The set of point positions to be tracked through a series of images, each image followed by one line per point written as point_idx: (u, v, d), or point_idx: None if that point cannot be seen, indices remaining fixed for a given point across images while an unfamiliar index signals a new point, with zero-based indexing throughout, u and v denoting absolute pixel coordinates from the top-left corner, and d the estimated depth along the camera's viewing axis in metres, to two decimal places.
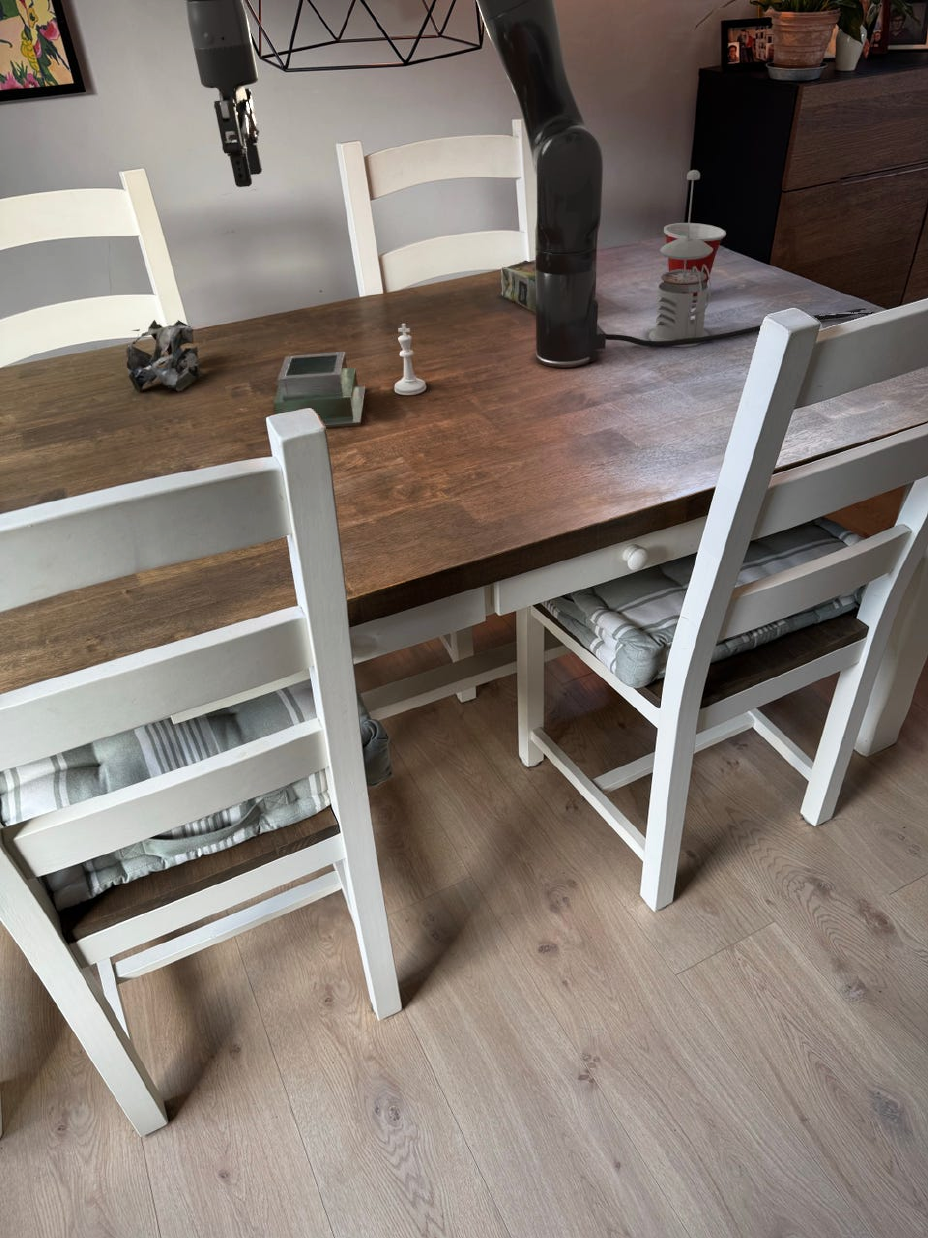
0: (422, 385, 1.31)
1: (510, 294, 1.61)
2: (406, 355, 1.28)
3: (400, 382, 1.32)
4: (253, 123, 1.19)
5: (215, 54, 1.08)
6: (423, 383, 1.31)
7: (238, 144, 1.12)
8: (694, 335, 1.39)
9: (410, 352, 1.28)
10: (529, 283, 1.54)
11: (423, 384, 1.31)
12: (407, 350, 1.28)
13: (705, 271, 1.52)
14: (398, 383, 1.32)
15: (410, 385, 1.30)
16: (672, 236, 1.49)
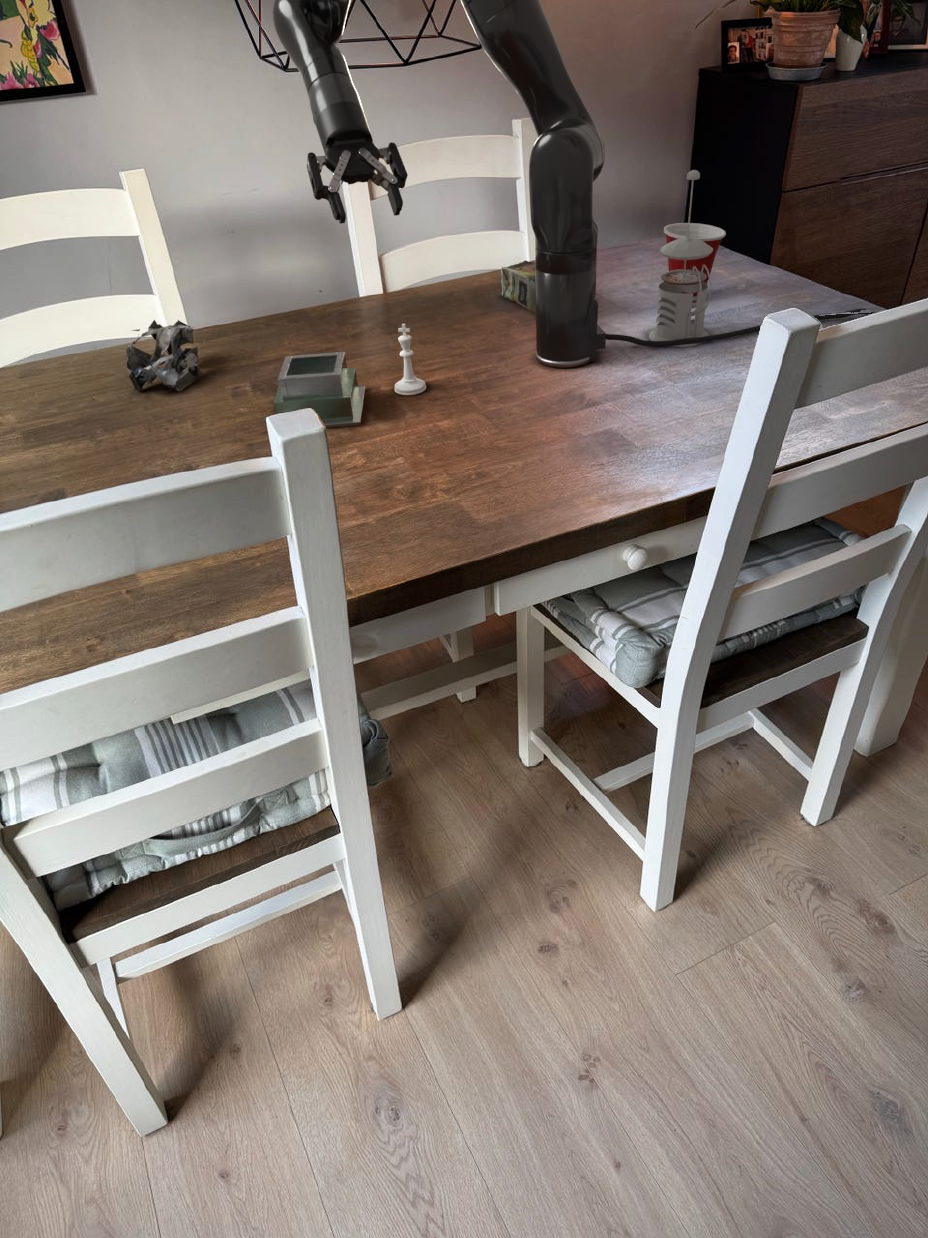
0: (422, 385, 1.31)
1: (510, 294, 1.61)
2: (406, 355, 1.28)
3: (400, 382, 1.32)
4: (374, 167, 1.27)
5: (317, 128, 1.28)
6: (423, 383, 1.31)
7: (314, 185, 1.25)
8: (694, 335, 1.39)
9: (410, 352, 1.28)
10: (529, 283, 1.54)
11: (423, 384, 1.31)
12: (407, 350, 1.28)
13: (705, 271, 1.52)
14: (398, 383, 1.32)
15: (410, 385, 1.30)
16: (672, 236, 1.49)
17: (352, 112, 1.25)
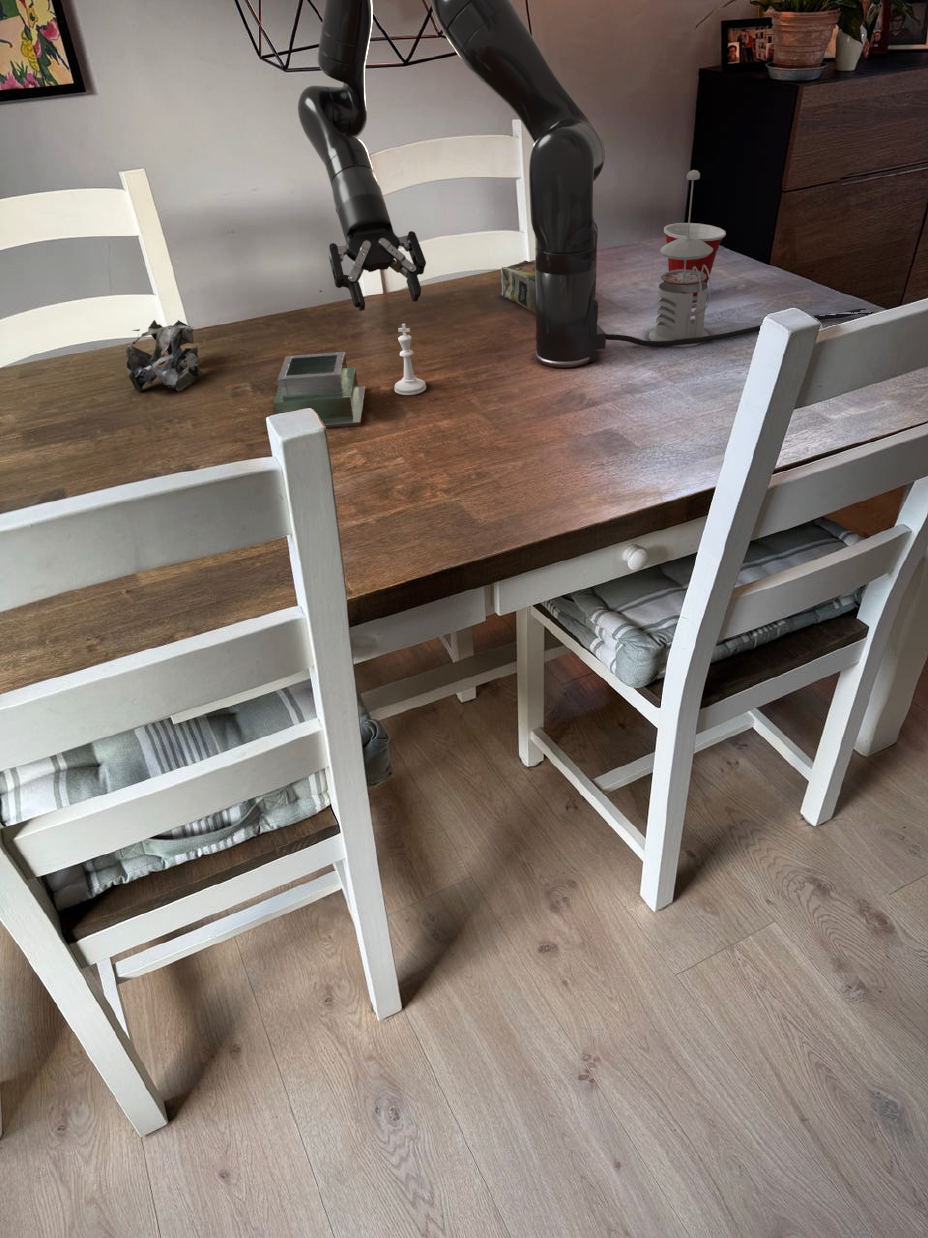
0: (422, 385, 1.31)
1: (510, 294, 1.61)
2: (406, 355, 1.28)
3: (400, 382, 1.32)
4: (394, 256, 1.30)
5: (339, 218, 1.32)
6: (423, 383, 1.31)
7: (335, 275, 1.29)
8: (694, 335, 1.39)
9: (410, 352, 1.28)
10: (529, 283, 1.54)
11: (423, 384, 1.31)
12: (407, 350, 1.28)
13: (705, 271, 1.52)
14: (398, 383, 1.32)
15: (410, 385, 1.30)
16: (672, 236, 1.49)
17: (373, 204, 1.29)
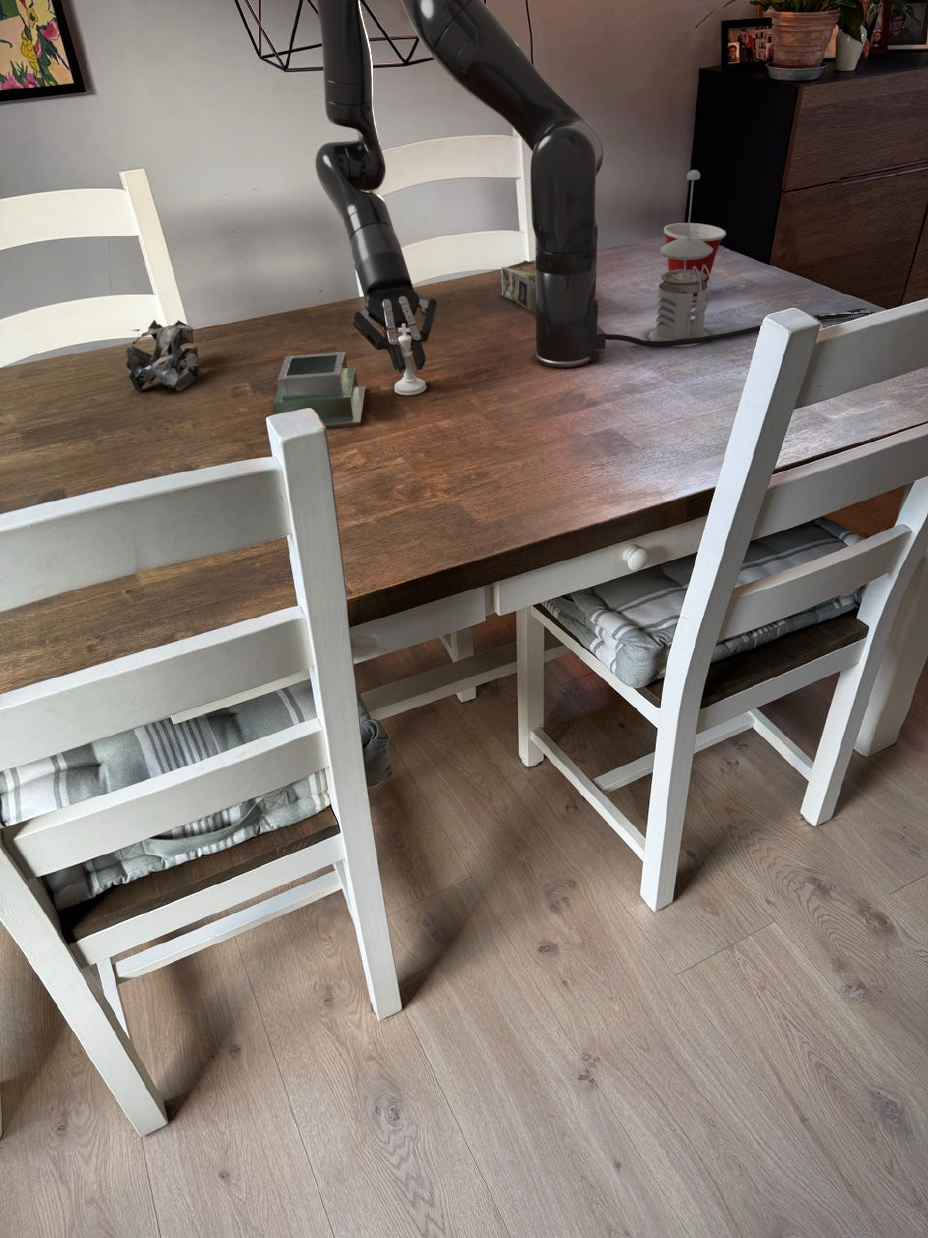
0: (422, 385, 1.31)
1: (510, 294, 1.61)
2: (406, 355, 1.28)
3: (400, 382, 1.32)
4: (405, 317, 1.28)
5: (358, 276, 1.29)
6: (423, 383, 1.31)
7: None
8: (694, 335, 1.39)
9: (410, 352, 1.28)
10: (529, 283, 1.54)
11: (423, 384, 1.31)
12: (407, 350, 1.28)
13: (705, 271, 1.52)
14: (398, 383, 1.32)
15: (410, 385, 1.30)
16: (672, 236, 1.49)
17: (393, 262, 1.26)
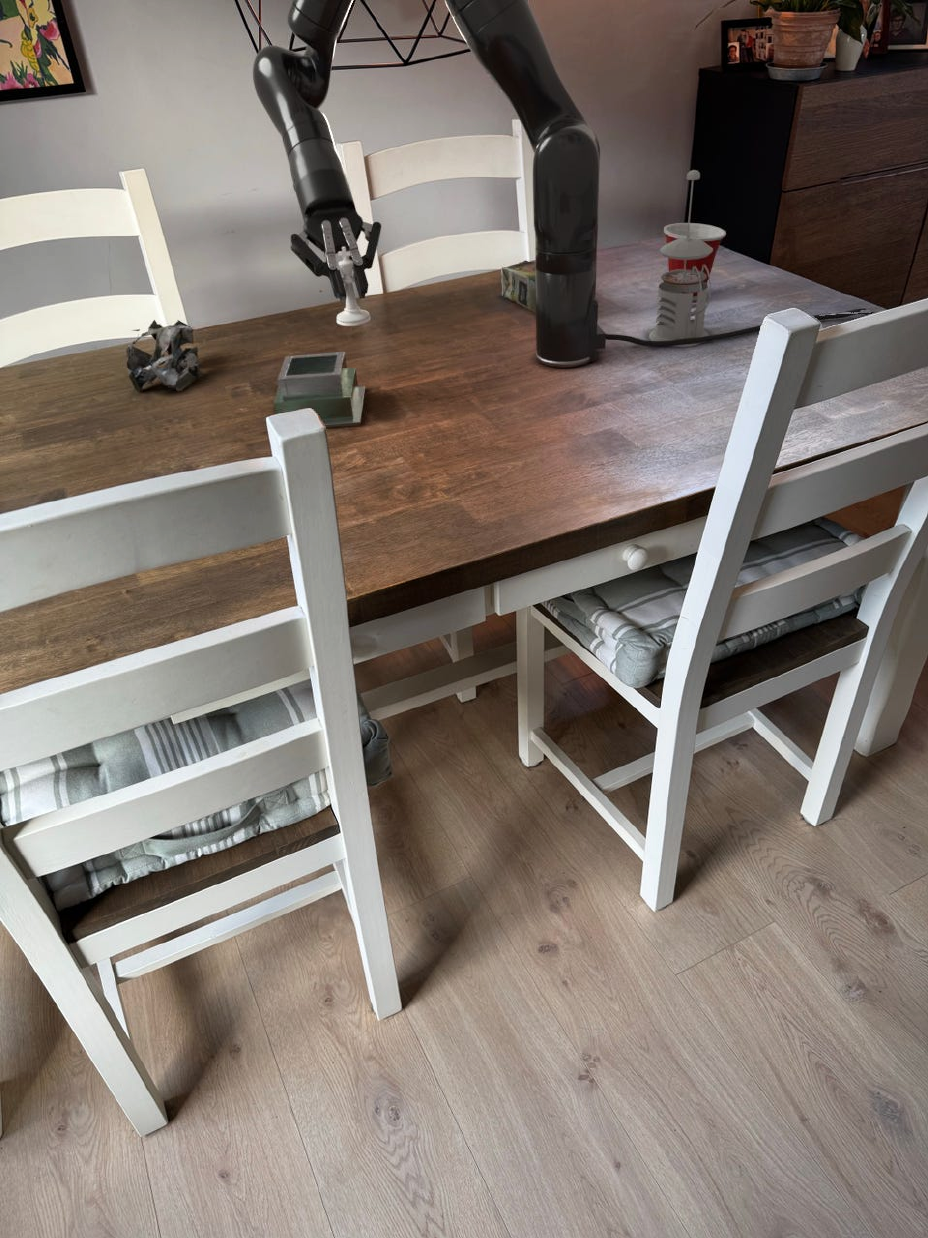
0: (366, 315, 1.22)
1: (510, 294, 1.61)
2: (347, 281, 1.19)
3: (342, 312, 1.22)
4: (346, 240, 1.18)
5: None
6: (367, 314, 1.22)
7: None
8: (694, 335, 1.39)
9: (352, 278, 1.19)
10: (529, 283, 1.54)
11: (367, 315, 1.22)
12: (348, 276, 1.19)
13: (705, 271, 1.52)
14: (340, 314, 1.22)
15: (352, 315, 1.21)
16: (672, 236, 1.49)
17: (332, 180, 1.17)
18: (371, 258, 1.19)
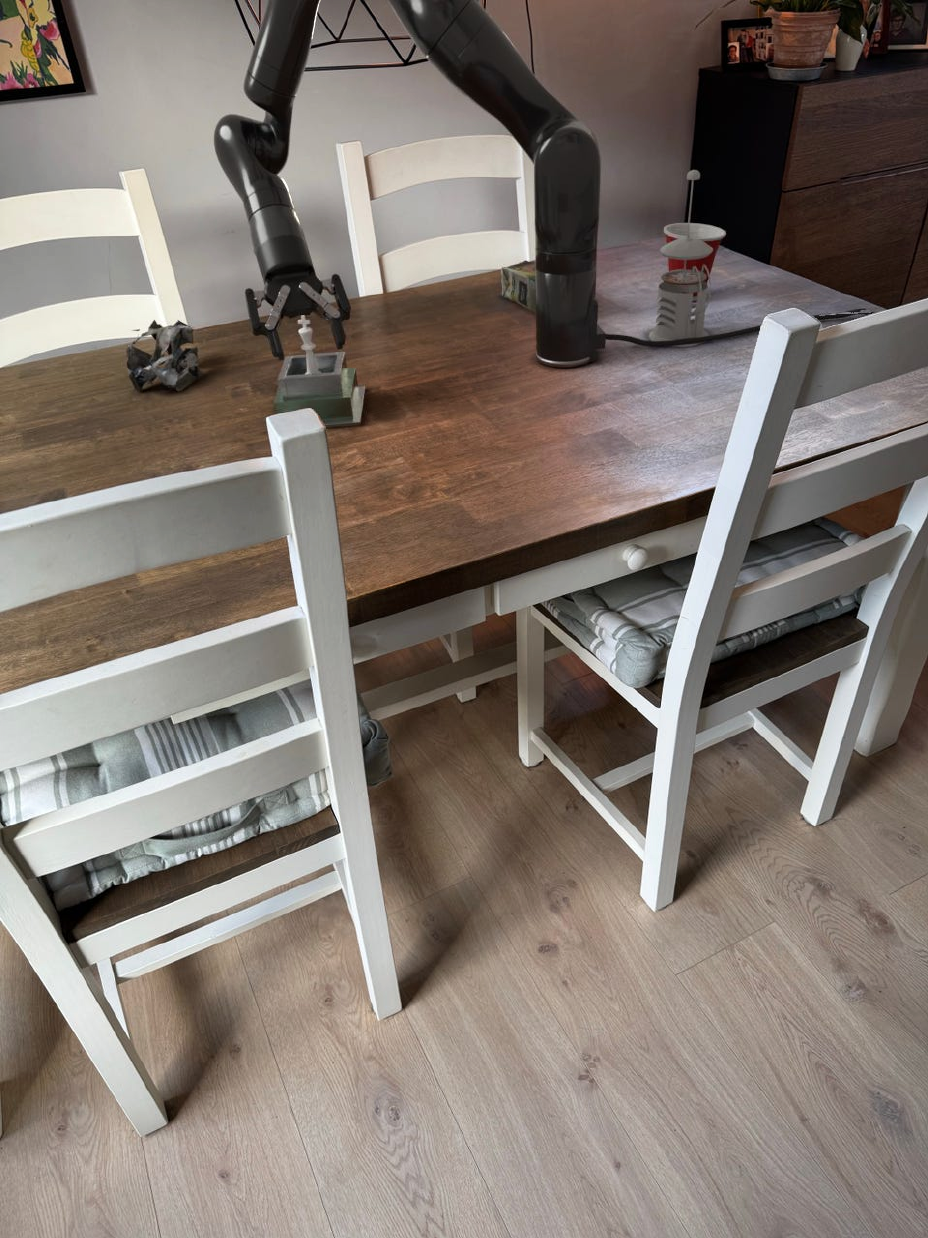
0: None
1: (510, 294, 1.61)
2: (307, 348, 1.21)
3: None
4: (315, 301, 1.21)
5: None
6: None
7: (251, 322, 1.19)
8: (694, 335, 1.39)
9: (312, 345, 1.22)
10: (529, 283, 1.54)
11: None
12: (308, 343, 1.21)
13: (705, 271, 1.52)
14: None
15: None
16: (672, 236, 1.49)
17: (291, 246, 1.19)
18: (349, 309, 1.22)
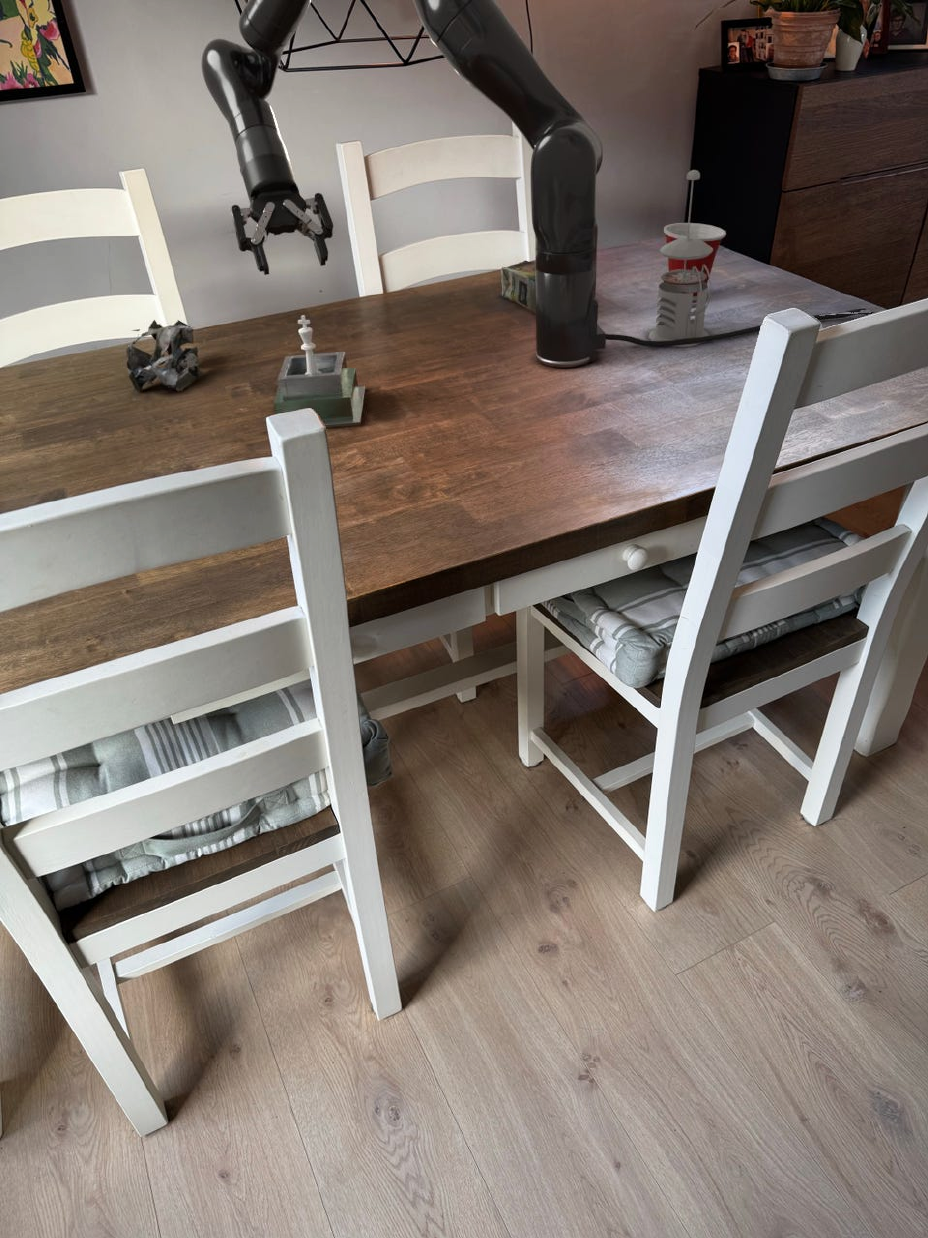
0: None
1: (510, 294, 1.61)
2: (307, 348, 1.21)
3: None
4: (299, 218, 1.26)
5: None
6: None
7: (237, 237, 1.25)
8: (694, 335, 1.39)
9: (312, 345, 1.22)
10: (529, 283, 1.54)
11: None
12: (308, 343, 1.21)
13: (705, 271, 1.52)
14: None
15: None
16: (672, 236, 1.49)
17: (276, 164, 1.25)
18: (332, 226, 1.28)
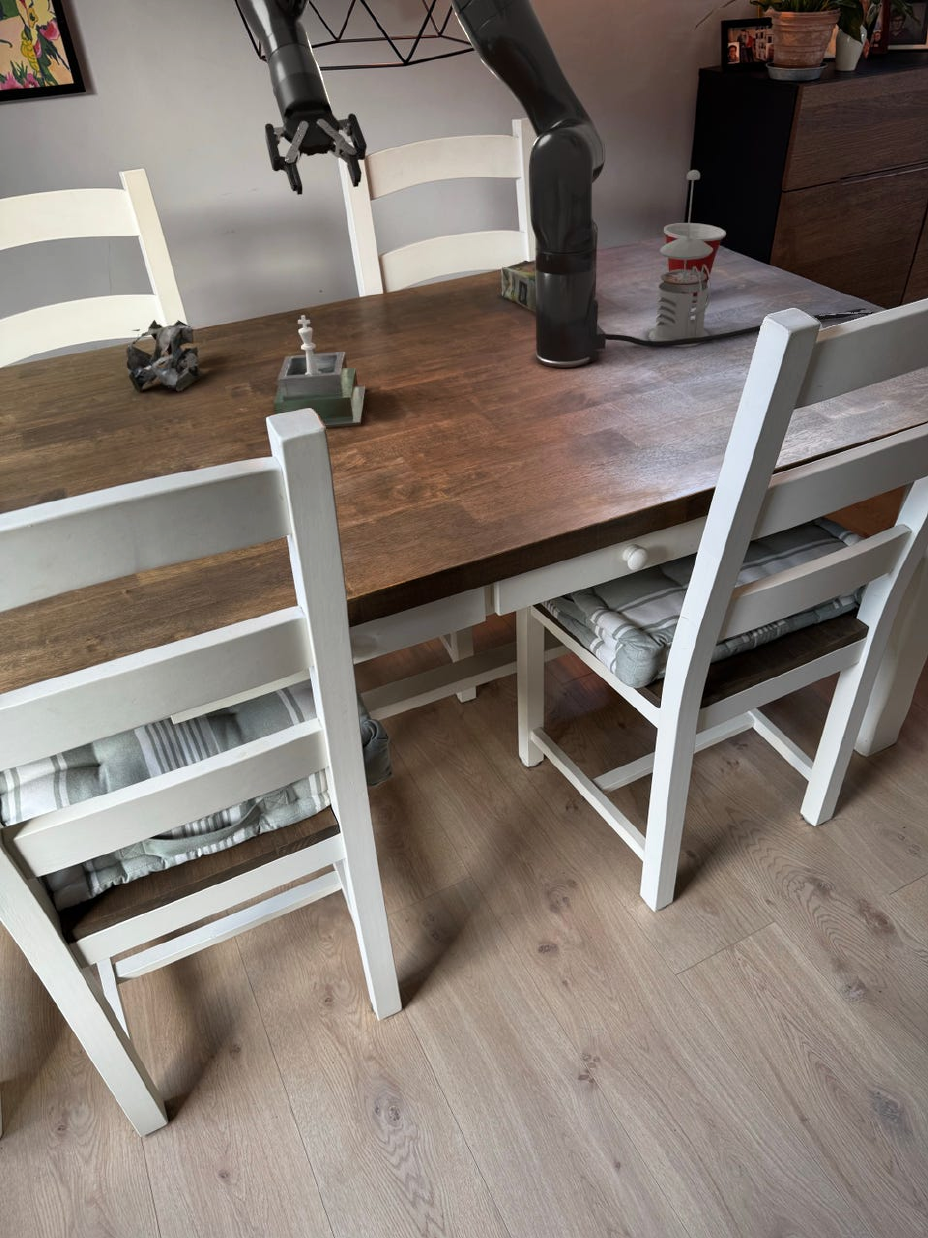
0: None
1: (510, 294, 1.61)
2: (307, 348, 1.21)
3: None
4: (332, 137, 1.26)
5: None
6: None
7: (271, 156, 1.24)
8: (694, 335, 1.39)
9: (312, 345, 1.22)
10: (529, 283, 1.54)
11: None
12: (308, 343, 1.21)
13: (705, 271, 1.52)
14: None
15: None
16: (672, 236, 1.49)
17: (310, 83, 1.24)
18: (365, 147, 1.27)
